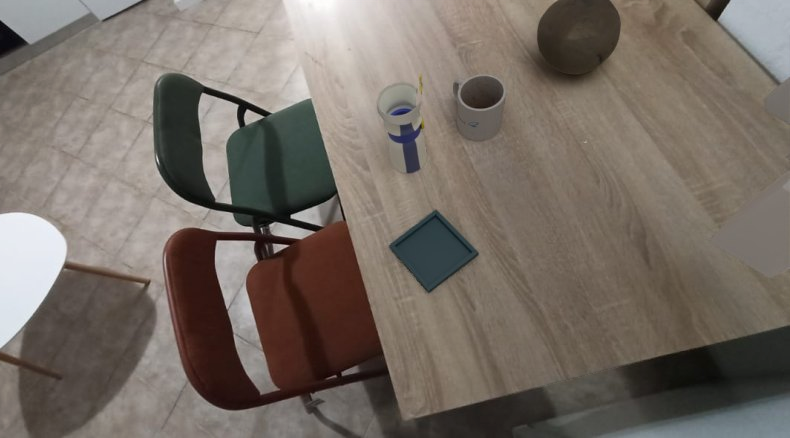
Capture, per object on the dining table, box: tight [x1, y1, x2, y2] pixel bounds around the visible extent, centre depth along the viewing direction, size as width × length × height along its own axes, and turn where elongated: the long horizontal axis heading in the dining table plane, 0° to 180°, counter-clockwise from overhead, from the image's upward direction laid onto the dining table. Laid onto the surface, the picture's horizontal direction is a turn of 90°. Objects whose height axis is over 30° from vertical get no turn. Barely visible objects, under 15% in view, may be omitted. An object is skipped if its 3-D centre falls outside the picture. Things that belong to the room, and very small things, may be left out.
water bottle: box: [376, 73, 428, 174], centre depth 82 cm, size 8×9×25 cm
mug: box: [452, 73, 507, 142], centre depth 88 cm, size 12×9×10 cm
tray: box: [388, 209, 480, 294], centre depth 83 cm, size 12×12×2 cm
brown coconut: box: [536, 0, 622, 75], centre depth 85 cm, size 14×14×15 cm
